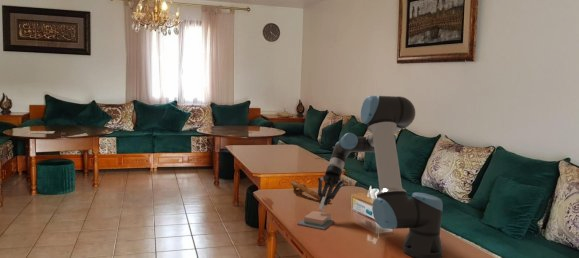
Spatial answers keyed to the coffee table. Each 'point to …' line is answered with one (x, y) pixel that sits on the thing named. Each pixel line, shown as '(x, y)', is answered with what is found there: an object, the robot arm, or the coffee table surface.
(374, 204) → the robot arm
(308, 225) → the pad
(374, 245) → the coffee table surface
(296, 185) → the brown curved bar
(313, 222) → the tile
